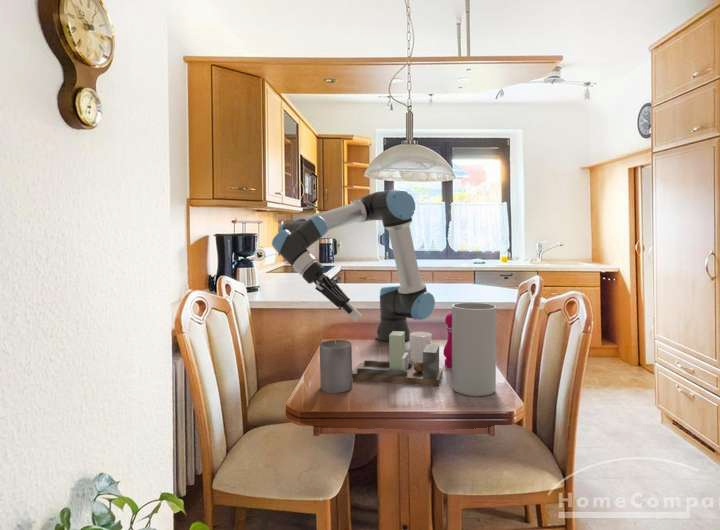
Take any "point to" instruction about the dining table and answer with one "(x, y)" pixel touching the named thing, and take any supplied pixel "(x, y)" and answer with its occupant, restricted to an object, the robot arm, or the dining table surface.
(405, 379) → the press bench
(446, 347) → the pink bowling pin
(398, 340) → the block
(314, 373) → the dining table surface
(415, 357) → the white cup
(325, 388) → the pillar candle
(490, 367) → the cylinder vase
